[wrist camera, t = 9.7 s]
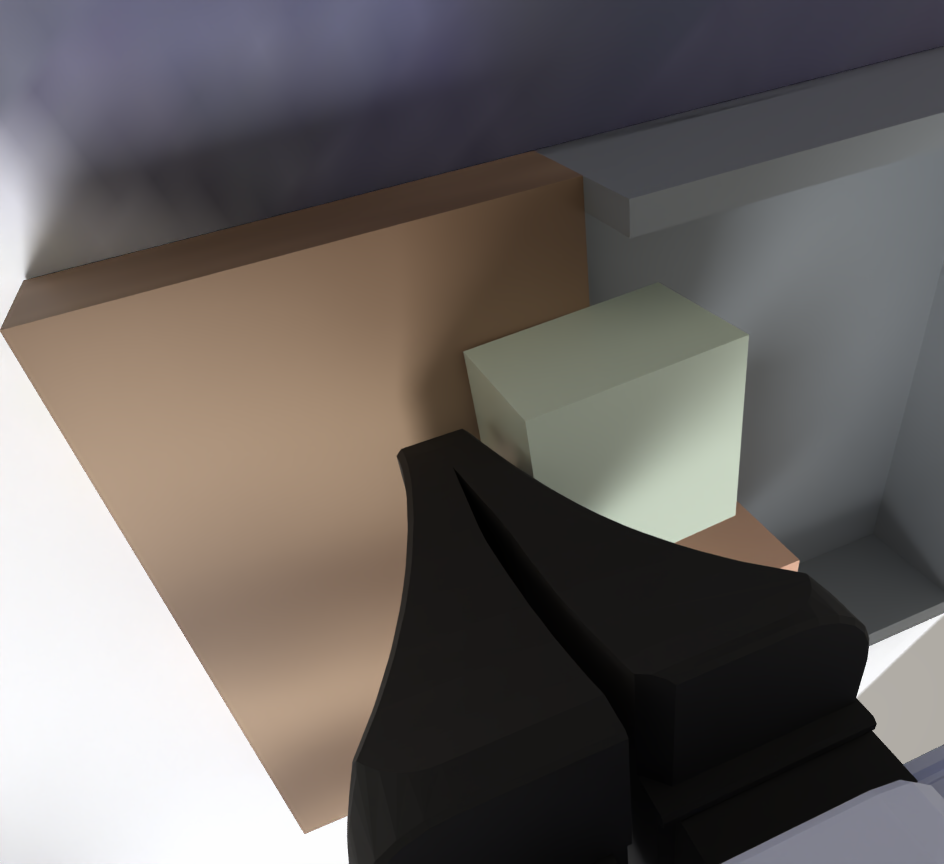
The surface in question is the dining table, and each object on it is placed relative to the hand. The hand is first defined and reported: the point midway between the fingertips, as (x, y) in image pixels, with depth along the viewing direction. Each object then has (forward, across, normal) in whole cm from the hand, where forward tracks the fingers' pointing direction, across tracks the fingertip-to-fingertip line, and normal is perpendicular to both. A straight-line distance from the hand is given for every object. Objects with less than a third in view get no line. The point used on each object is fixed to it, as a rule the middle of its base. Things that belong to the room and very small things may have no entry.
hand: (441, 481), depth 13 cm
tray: (+3, -9, +3) cm, 10 cm away
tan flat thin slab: (+3, +1, +3) cm, 4 cm away
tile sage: (+1, -3, 0) cm, 3 cm away
